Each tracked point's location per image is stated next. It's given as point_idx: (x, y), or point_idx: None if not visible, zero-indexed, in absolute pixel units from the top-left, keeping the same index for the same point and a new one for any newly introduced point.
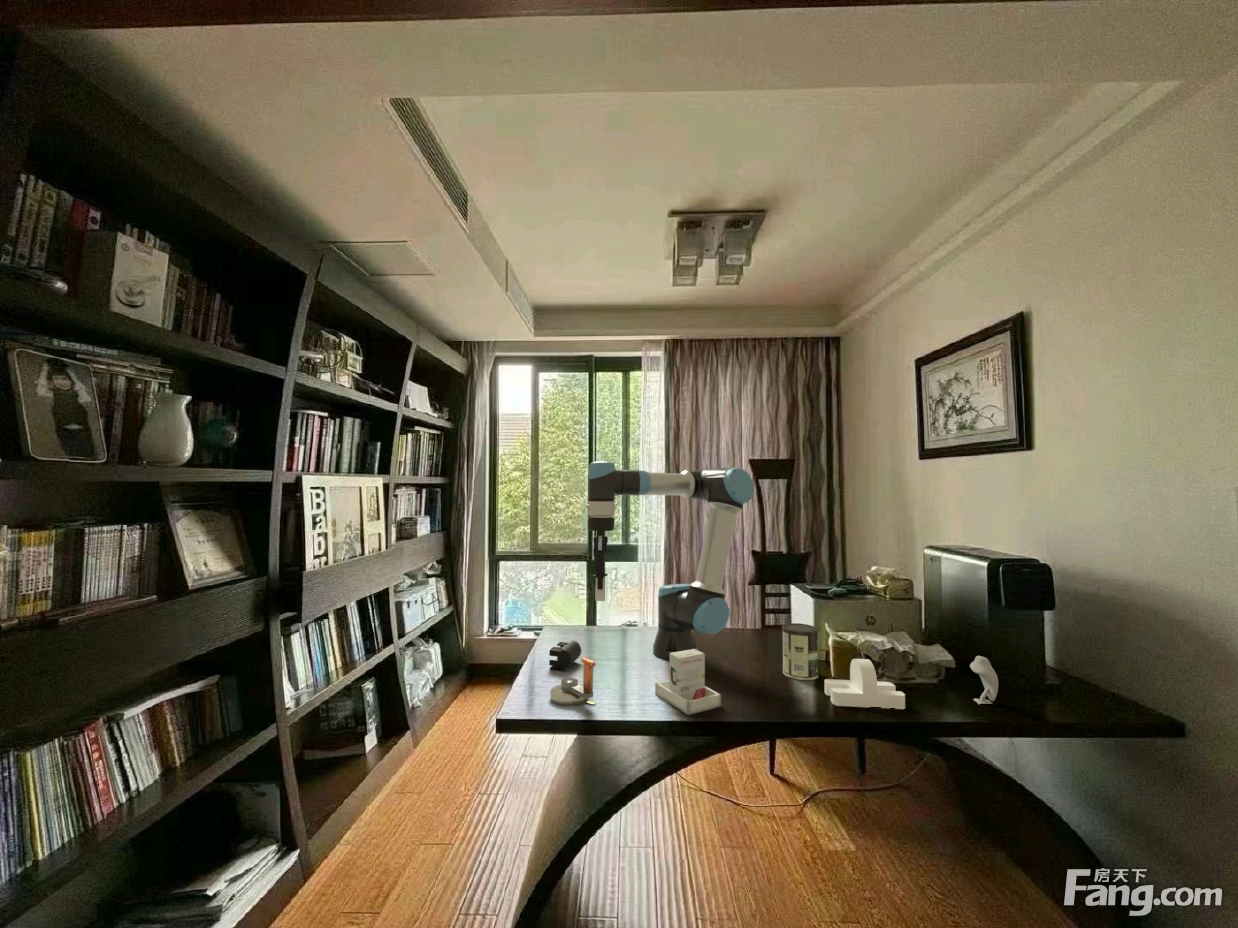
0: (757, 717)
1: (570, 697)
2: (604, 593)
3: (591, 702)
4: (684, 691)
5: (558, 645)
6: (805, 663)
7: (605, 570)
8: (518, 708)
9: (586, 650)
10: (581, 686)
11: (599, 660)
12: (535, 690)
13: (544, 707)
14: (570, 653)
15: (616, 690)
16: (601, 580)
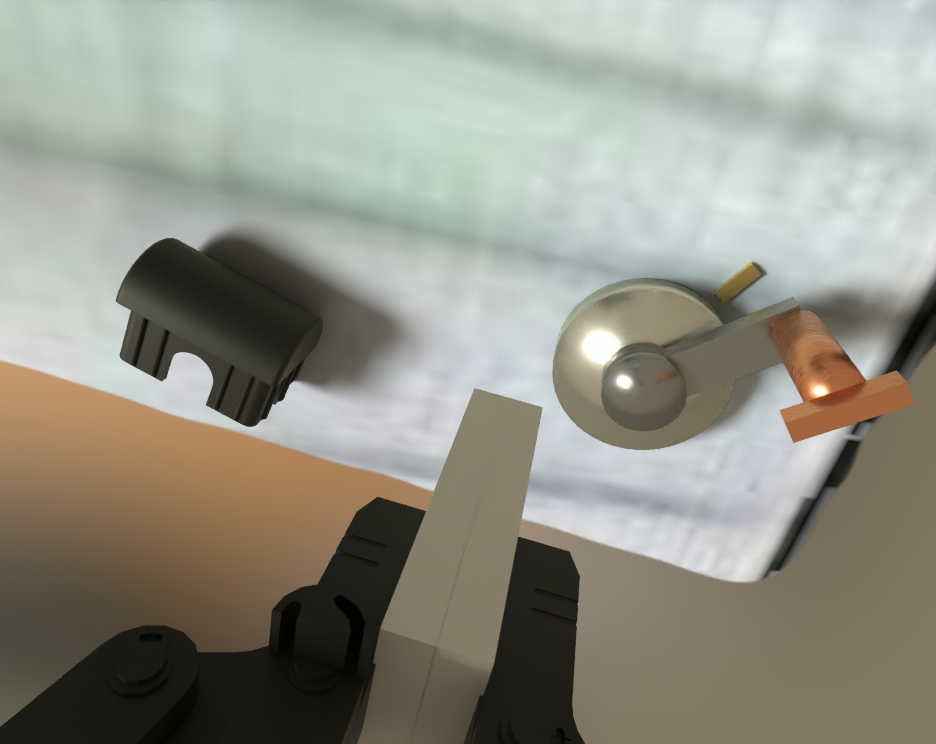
0: None
1: (726, 384)
2: (528, 467)
3: (737, 279)
4: None
5: (167, 371)
6: None
7: (158, 672)
8: (679, 543)
9: (20, 163)
10: (706, 346)
11: (168, 119)
12: None
13: (704, 463)
14: (280, 331)
15: (613, 116)
16: (565, 696)
